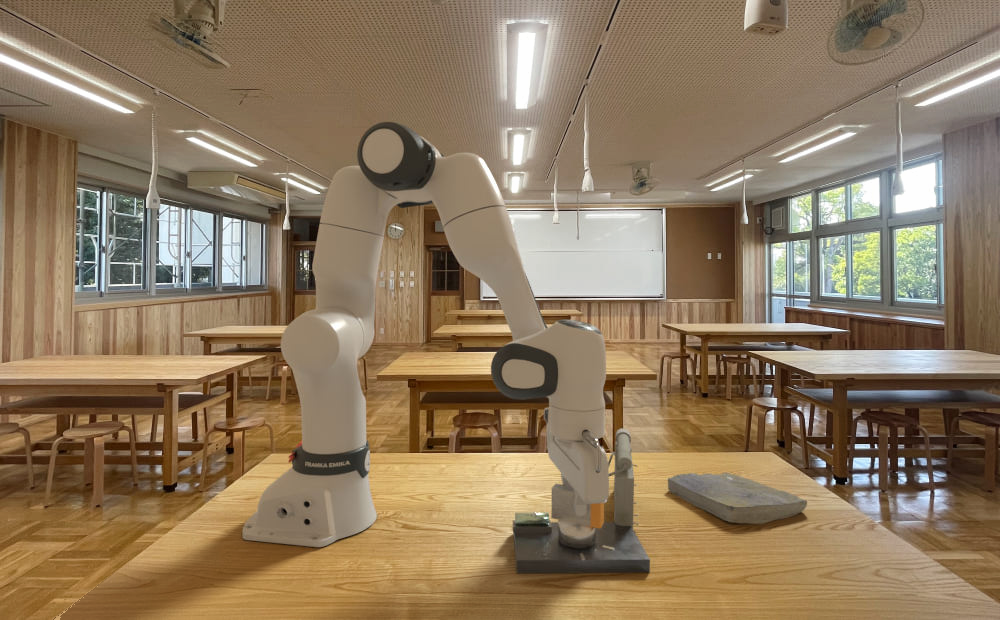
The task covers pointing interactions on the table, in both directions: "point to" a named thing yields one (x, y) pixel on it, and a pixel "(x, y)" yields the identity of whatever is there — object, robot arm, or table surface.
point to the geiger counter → (623, 479)
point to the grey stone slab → (735, 497)
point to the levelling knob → (575, 518)
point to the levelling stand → (575, 549)
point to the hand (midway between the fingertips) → (574, 506)
